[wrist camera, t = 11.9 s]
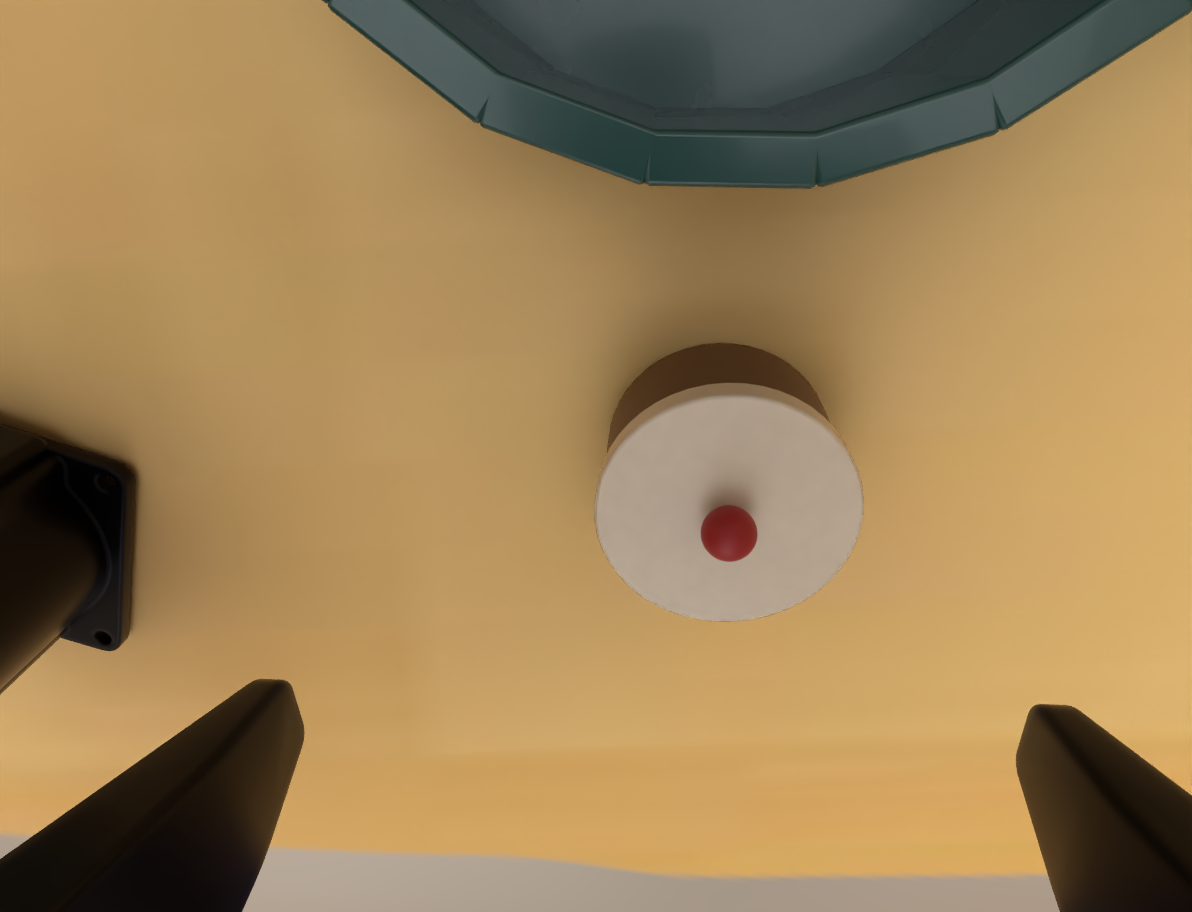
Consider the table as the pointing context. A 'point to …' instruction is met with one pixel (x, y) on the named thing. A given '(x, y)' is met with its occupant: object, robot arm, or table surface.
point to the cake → (726, 486)
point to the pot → (752, 76)
